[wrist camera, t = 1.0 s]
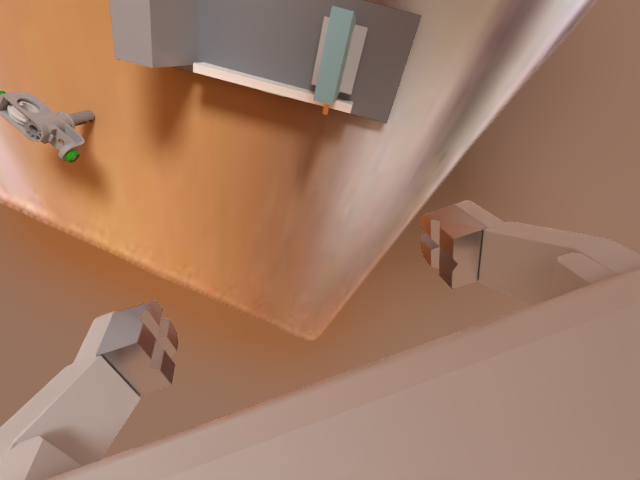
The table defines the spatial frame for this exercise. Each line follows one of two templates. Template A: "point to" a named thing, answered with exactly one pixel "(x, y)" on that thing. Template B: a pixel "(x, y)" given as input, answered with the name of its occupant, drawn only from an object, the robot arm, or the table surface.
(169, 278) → the table surface
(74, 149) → the mechanical component
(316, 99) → the block
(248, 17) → the bench
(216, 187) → the table surface
